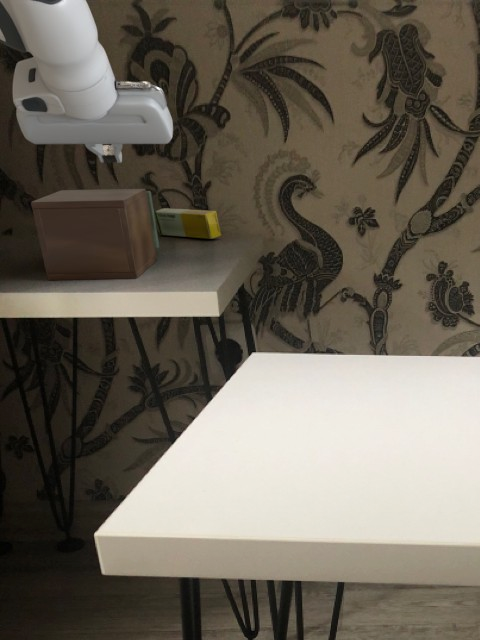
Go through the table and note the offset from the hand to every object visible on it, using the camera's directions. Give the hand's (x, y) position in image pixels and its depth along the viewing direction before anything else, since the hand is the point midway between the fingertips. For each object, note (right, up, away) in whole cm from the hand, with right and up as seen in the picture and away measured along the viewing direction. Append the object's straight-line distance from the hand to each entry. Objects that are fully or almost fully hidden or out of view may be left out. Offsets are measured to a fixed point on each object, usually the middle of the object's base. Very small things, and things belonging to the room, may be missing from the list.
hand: (111, 159), depth 134 cm
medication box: (+6, -5, +18) cm, 20 cm away
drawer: (+1, -13, +1) cm, 13 cm away
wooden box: (+2, -19, -7) cm, 20 cm away
